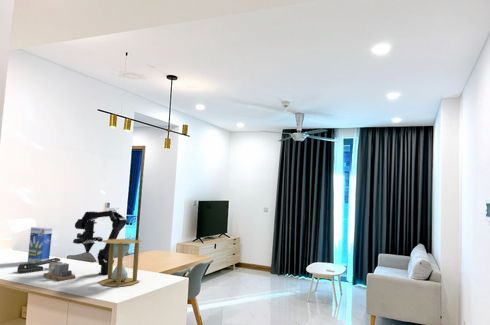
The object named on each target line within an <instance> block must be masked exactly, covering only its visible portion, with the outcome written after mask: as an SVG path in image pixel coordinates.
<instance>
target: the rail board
mask: <svg viewBox="0 0 490 325" xmlns="http://www.w3.org/2000/svg"><path fill="white" fill-rule="evenodd" d="M53 261H54V260H53ZM61 263H63V262H62V261H57V260H56V261H54V262H51V263H48V272H44V273H43V277H44V278H47V279H50V280H53V281H57V282H63V281H69V280H74V279H76V274H74V273H73V272H72V271H73V270H69V269H68V271H63V272H62V274H60V276H57V275H55V264H61ZM72 273H73V274H72Z"/></svg>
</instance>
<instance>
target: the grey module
mask: <svg viewBox="0 0 490 325" xmlns="http://www.w3.org/2000/svg"><path fill="white" fill-rule="evenodd" d="M69 267H70V264H69V263H67V262H62V263H61V264H55V275H57V276H60V274H62V272H63V271H69V269H70V268H69Z"/></svg>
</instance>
